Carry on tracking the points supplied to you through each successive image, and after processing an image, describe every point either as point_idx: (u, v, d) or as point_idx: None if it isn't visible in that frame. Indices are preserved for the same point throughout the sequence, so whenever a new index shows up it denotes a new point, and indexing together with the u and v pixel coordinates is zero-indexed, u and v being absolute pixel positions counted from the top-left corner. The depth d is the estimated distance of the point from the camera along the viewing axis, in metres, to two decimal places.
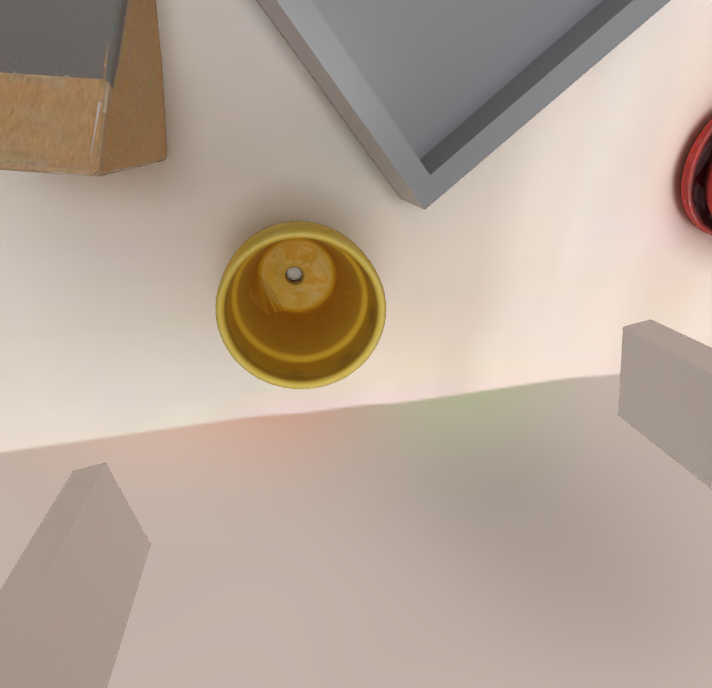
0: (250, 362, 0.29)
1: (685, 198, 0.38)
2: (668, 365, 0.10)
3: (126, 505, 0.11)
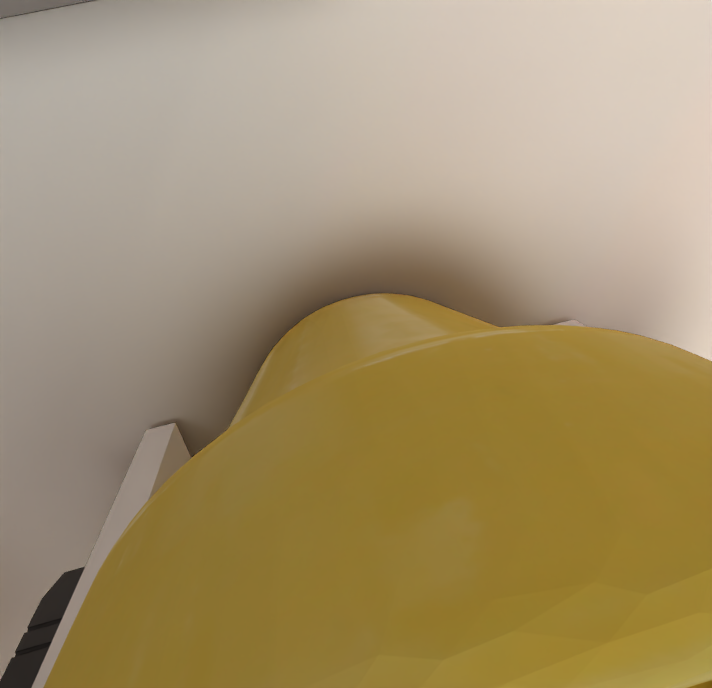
0: None
1: None
2: None
3: None
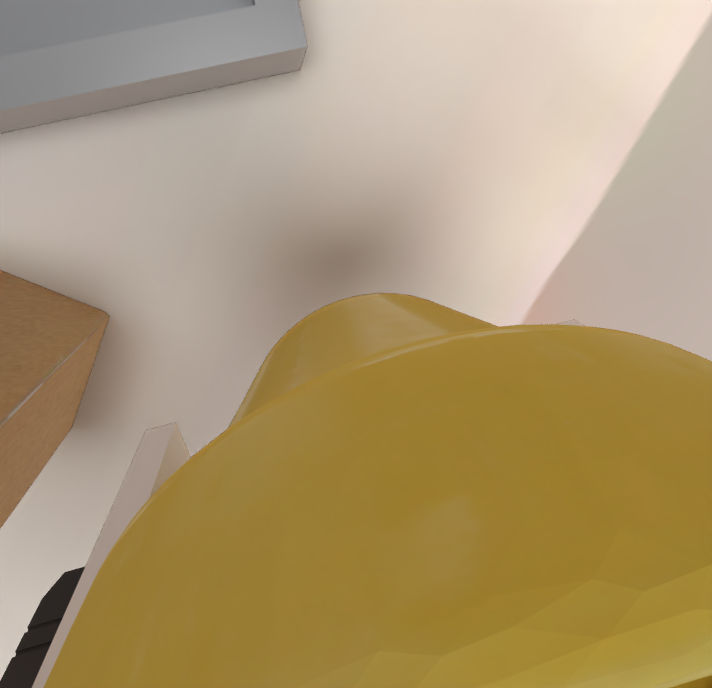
0: None
1: None
2: None
3: None
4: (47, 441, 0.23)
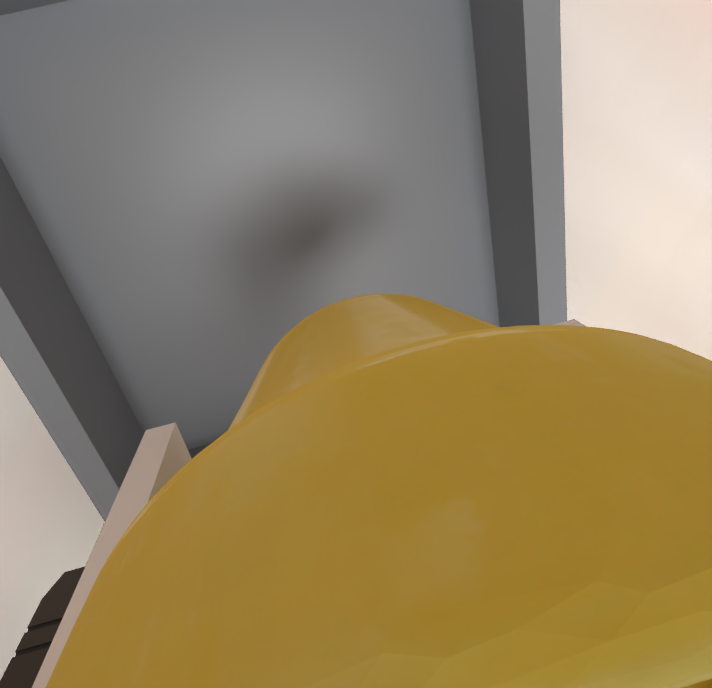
0: None
1: None
2: None
3: None
4: None
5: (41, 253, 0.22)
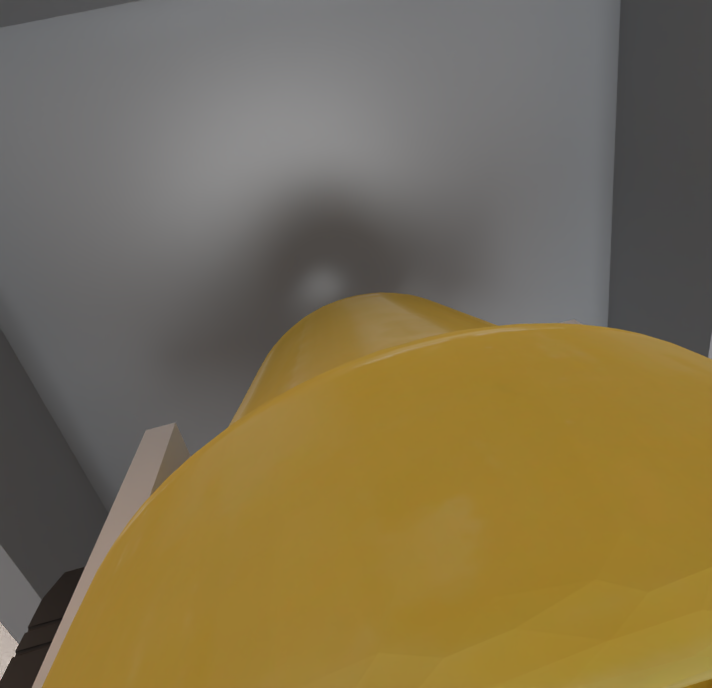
0: None
1: None
2: None
3: None
4: None
5: (7, 370, 0.16)
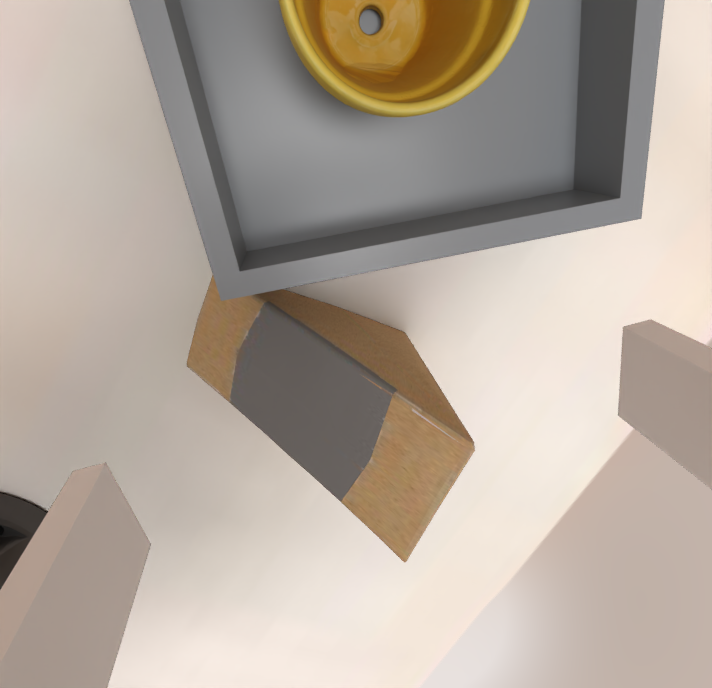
0: (423, 100, 0.20)
1: None
2: (668, 366, 0.10)
3: (126, 505, 0.11)
4: None
5: (178, 4, 0.24)
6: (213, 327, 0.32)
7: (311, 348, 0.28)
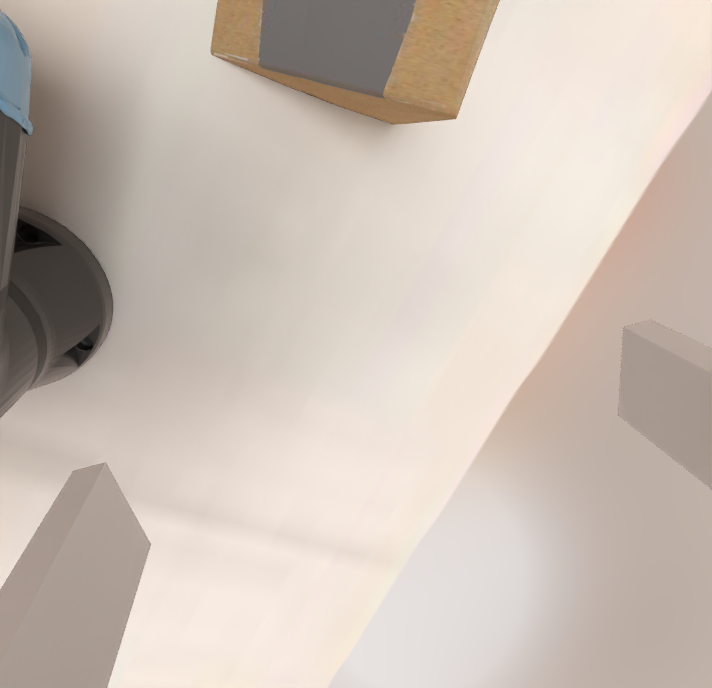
0: None
1: None
2: (668, 366, 0.10)
3: (126, 505, 0.11)
4: None
5: None
6: None
7: None
